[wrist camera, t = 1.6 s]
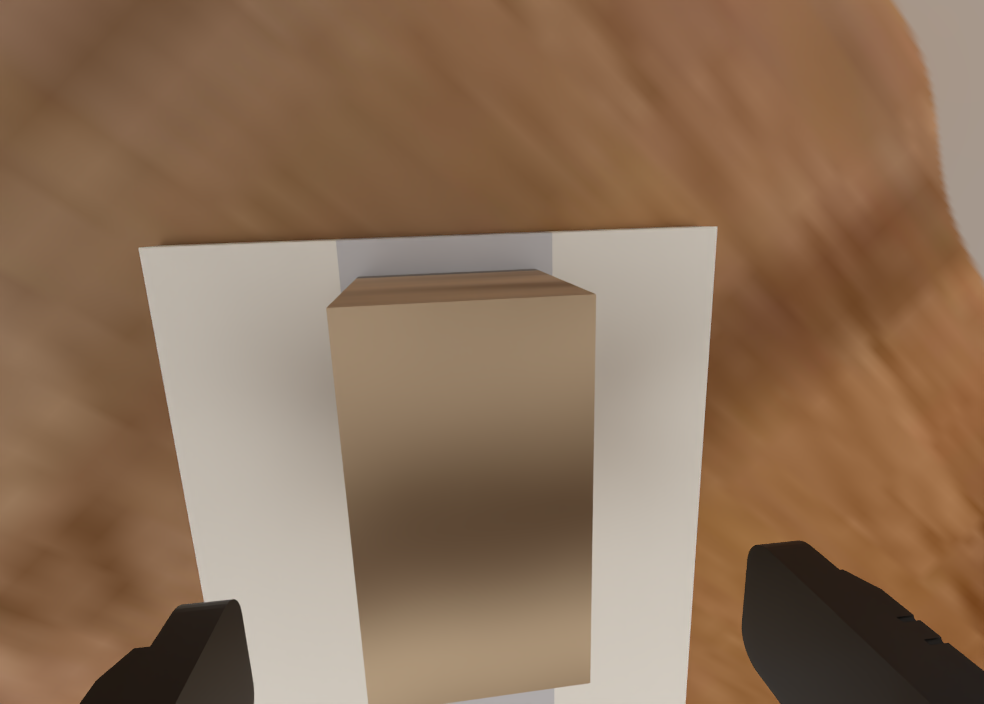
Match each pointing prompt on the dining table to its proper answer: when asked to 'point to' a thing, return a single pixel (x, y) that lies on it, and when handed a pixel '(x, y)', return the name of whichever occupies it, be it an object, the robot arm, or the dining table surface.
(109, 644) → the dining table surface
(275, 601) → the board
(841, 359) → the dining table surface
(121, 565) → the dining table surface
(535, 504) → the block
